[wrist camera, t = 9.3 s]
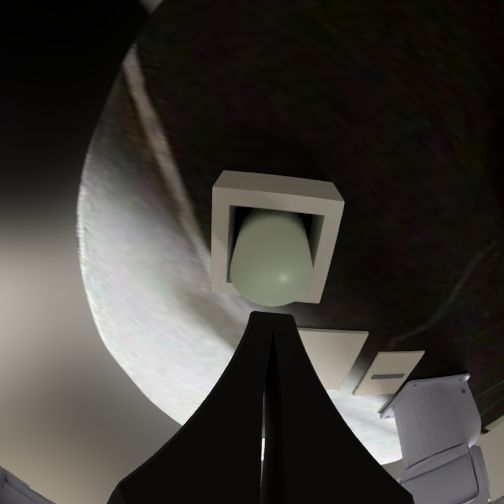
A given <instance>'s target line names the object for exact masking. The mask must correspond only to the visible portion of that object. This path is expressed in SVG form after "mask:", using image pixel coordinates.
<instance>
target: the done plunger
mask: <svg viewBox="0 0 504 504" xmlns="http://www.w3.org/2000/svg"><path fill="white" fill-rule="evenodd" d="M230 277H231V281H232V284H233V286H234V288H235V289H236V290H237V292H238V293H239V294H240V295H241V296H243V297H244V298H245V299H247V300H248V301H250V302H252V303H255V304H258V305H262V306H271V307H273V306H282V305H286V304H289V303H292V302H294V301H296V300H297V299H299V298H300V297H301V296H302V295H304V293H305V292H306V291H307V290H308V288H309V287H310V285H311V282H312V279H313V266H312V260H311V255H310V250H309V245H308V240H307V235H306V230H305V225H304V223H303V221H302V219H301V217H300V216H299V215H298V214H297V213H296V212H292V211H283V210H274V209H265V208H254V209H253V210H251V211H250V212H249V213H248V214H247V215H246V216H245V218H244V219H243V221H242V223H241V226H240V230H239V234H238V238H237V242H236V246H235V250H234V254H233V258H232V262H231V266H230Z"/></svg>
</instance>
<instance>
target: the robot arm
mask: <svg viewBox="0 0 504 504" xmlns="http://www.w3.org/2000/svg"><path fill="white" fill-rule="evenodd" d="M468 378H469V374H468V373H467V374H461V375H454V376H447V377H439V378H430V379H421V380H411V381H409V382H407V384H406V385H405V386H404V387H403V389H402V390H401V391H400V392H399V394H398V395H397V396H396V397H395V399H394V400H393V401H392V402H391V403H390V405H389V406H388V407H387V408H386V409H385V410H384V412H383V413H382V414H381V415H380V418H381V419H386V418H395V421H396V426H397V430H398V435H399V440H400V445H401V451H402V456H403V462H404V468H405V470H404V471H402V472H401V478H399V479H398V480H397V481H396V480H395V479H394V478H392V476H391V475H390V474H389V473H388V472H387V471H386V470H385V469H383V467H382V466H381V465H380V464H379V463H378V462H377V461H376V460H375V459H374V458H373V456H372V455H371V454H370V453H369V452H368V450H367V449H366V448H365V447H364V446H363V444H362V443H361V442H360V441H359V439H358V438H357V437H356V436H355V435H354V433H353V432H352V430H351V429H350V428H349V426H348V425H347V424H346V422H345V421H344V419H343V418H342V416H341V415H340V413H339V412H338V410H337V409H336V407H335V406H334V404H333V402H332V401H331V399H330V397H329V395H328V394H327V392H326V390H325V388H324V387H323V385H322V383H321V381H320V379H319V377H318V375H317V373H316V371H315V369H314V367H313V365H312V363H311V361H310V358H309V356H308V354H307V352H306V349H305V347H304V345H303V342H302V340H301V337H300V334H299V332H298V329H297V326H296V323H295V319H294V317H293V316H292V315H291V314H280V313H269V312H259V311H253V312H251V313H250V316H249V320H248V324H247V327H246V329H245V332H244V334H243V337H242V339H241V341H240V343H239V345H238V347H237V349H236V351H235V353H234V355H233V357H232V359H231V360H230V362H229V364H228V366H227V367H226V369H225V370H224V372H223V374H222V375H221V377H220V378H219V380H218V382H217V383H216V385H215V386H214V387H213V389H212V390H211V392H210V393H209V395H208V396H207V397H206V399H205V400H204V401H203V402H202V404H201V405H200V406H199V408H198V409H197V410H196V411H195V412H194V414H193V415H192V416H191V417H190V418H189V419H188V421H187V422H186V423H185V424H184V425H183V426H182V427H181V428H180V430H179V431H178V432H177V433H176V434H175V435H174V436H173V437H172V438H171V439H170V440H169V441H168V442H167V443H166V444H164V446H162V447H161V448H160V449H159V450H158V451H157V452H156V453H155V454H154V455H153V456H152V457H151V458H149V459H148V460H147V461H146V462H145V463H143V464H142V465H141V466H139V467H138V468H137V469H136V470H134V471H133V472H132V473H130V474H129V475H128V476H127V477H125V478H124V479H122V480H121V481H120V482H119V483H118V485H117V486H116V488H115V490H114V491H113V492H112V494H111V496H110V498H109V500H108V502H107V504H463V503H465V502H467V501H469V500H471V499H473V498H476V499H475V500H474V501H473V502H471V503H470V504H504V496H502V497H500V498H498V499H496V500H494V501H492V502H490V503H489V500H490V498H491V497H490V492H489V487H490V485H489V480H488V476H487V471H486V467H485V463H484V459H483V455H482V451H481V448H480V446H476V445H474V444H475V442H476V441H477V439H478V437H479V435H480V430H481V419H480V415H479V413H478V410H477V407H476V404H475V402H474V399H473V396H472V394H471V391H470V389H469V386H468V384H467V382H466V380H467V379H468ZM263 397H264V417H265V448H264V460H263V471H262V481H261V453H262V423H263ZM470 449H471V451H470ZM471 453H472V455H471ZM0 504H55V503H53V502H52V501H50V500H49V499H47V498H45V497H43V496H42V495H40V494H39V493H37V492H35V491H34V490H32V489H31V488H30V487H29V485H27V484H26V483H24V482H23V481H22V480H20V479H19V478H17V477H16V476H15V475H13V474H12V473H10V472H9V471H7V470H6V469H4V468H3V467H1V466H0Z"/></svg>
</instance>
